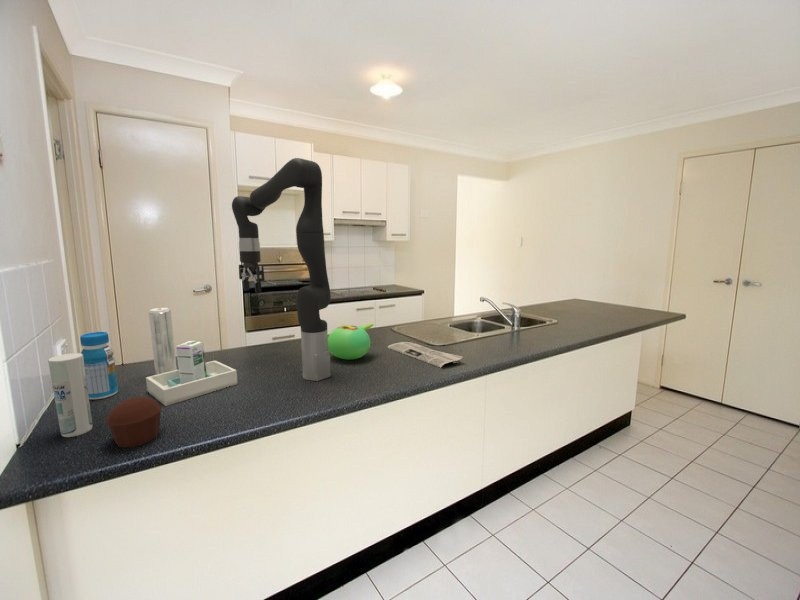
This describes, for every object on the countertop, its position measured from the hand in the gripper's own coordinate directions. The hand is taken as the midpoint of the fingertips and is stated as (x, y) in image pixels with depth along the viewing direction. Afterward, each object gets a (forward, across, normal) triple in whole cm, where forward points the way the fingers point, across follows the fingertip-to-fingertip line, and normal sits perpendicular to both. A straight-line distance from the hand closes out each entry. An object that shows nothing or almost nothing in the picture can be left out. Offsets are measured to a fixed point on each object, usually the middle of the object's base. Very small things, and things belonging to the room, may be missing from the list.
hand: (252, 291), depth 146 cm
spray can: (+29, -14, +59) cm, 67 cm away
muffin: (+29, -30, +51) cm, 66 cm away
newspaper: (+29, -49, -48) cm, 75 cm away
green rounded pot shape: (+29, -27, -26) cm, 47 cm away
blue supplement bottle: (+29, +8, +49) cm, 57 cm away
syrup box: (+28, -9, +28) cm, 40 cm away
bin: (+29, -9, +28) cm, 41 cm away
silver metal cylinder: (+29, +10, +30) cm, 43 cm away
